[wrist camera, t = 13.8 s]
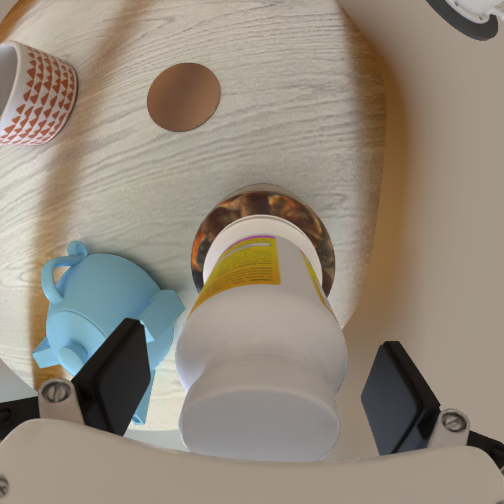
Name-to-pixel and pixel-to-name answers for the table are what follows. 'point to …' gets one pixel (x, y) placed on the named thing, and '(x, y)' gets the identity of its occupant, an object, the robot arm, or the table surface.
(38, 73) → the planter
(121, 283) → the teapot
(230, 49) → the table surface
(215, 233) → the jar
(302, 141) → the table surface
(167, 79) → the brown coaster
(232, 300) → the supplement bottle
